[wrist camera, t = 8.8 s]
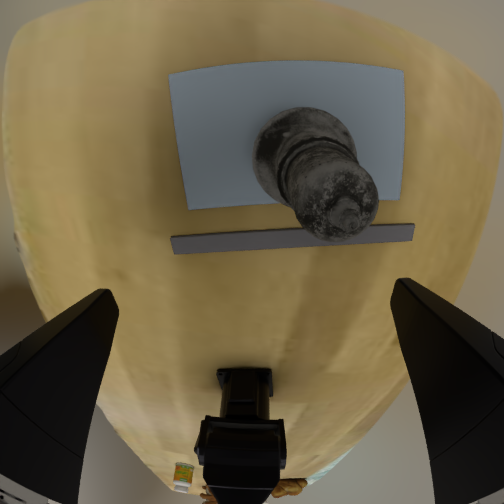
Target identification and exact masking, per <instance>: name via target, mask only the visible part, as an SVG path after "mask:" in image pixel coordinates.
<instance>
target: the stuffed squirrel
mask: <svg viewBox="0 0 504 504" xmlns="http://www.w3.org/2000/svg"><path fill="white" fill-rule="evenodd" d="M202 488H203V489H205V490H206V493H207V495H206V494H203V493H201V494H200V496H201V497H202V498H203V499H206V500H207V501H205V502H203V503H202V504H218V502H217V501H216V499H215V497H214V496H213V494H212V492H211V491H210V489H209V487H208V485H206V486H203V487H202Z"/></svg>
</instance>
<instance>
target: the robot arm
mask: <svg viewBox="0 0 504 504" xmlns="http://www.w3.org/2000/svg"><path fill="white" fill-rule="evenodd" d="M390 306H391V310H392V314H393V318H394V322H395V326H396V331H397V335H398V339H399V343H400V347H401V351H402V354H403V357H404V360H405V363H406V366H407V370H408V373H409V376H410V379H411V383H412V386H413V390H414V393H415V397H416V401H417V405H418V408H419V413H420V416H421V421H422V425H423V430H424V434H425V439H426V444H427V449H428V454H429V460H430V467H431V473H432V480H433V488H434V497H435V504H469V503H472V502H474V501H477V500H478V503H476V504H504V339H503V338H501V337H500V336H498V335H497V334H496V333H494V332H491V330H490V329H488V328H487V327H485V326H484V325H482V324H481V323H480V322H478V321H477V320H475V319H474V318H472V317H471V316H469V315H468V314H466V313H465V312H463V311H462V310H460V309H459V308H457V307H456V306H454V305H452V304H451V303H449V302H448V301H446V300H445V299H443V298H441V297H440V296H438V295H437V294H435V293H433V292H432V291H430V290H429V289H427V288H425V287H424V286H422V285H420V284H419V283H417V282H416V281H414V280H412V279H411V278H399V279H397V280H396V282H395V285H394V289H393V292H392V296H391V300H390ZM118 317H119V308H118V306H117V303H116V301H115V299H114V296H113V294H112V292H111V291H110V290H109V289H97V290H96V291H94V292H93V293H91V294H89V295H88V296H86V297H85V298H83V299H82V300H80V301H79V302H77V303H76V304H74V305H72V306H71V307H69V308H68V309H66V310H65V311H63V312H62V313H60V314H59V315H57V316H56V317H54V318H53V319H52V320H50V321H49V322H47V323H46V324H44V325H43V326H41V327H40V328H38V329H37V330H36V331H34V332H33V333H31V334H30V335H29V336H27V337H26V338H24V339H23V340H22V341H20V342H19V343H17V344H16V345H14V346H13V347H12V348H10V349H9V350H7V351H6V352H5V353H3V354H2V355H0V504H49V503H48V499H51V500H53V501H56V502H59V503H61V504H78V495H79V486H80V479H81V472H82V466H83V458H84V453H85V448H86V443H87V438H88V434H89V429H90V424H91V420H92V416H93V412H94V408H95V404H96V400H97V396H98V393H99V389H100V385H101V382H102V378H103V375H104V371H105V368H106V365H107V362H108V358H109V355H110V351H111V347H112V342H113V338H114V333H115V329H116V325H117V321H118ZM216 374H217V377H218V380H219V383H220V386H221V389H222V399H221V408H220V417H211V416H209V415H206V416H205V420H202V421H201V427H200V432H199V436H198V439H197V441H196V444H195V447H194V452H195V453H196V454H197V455H198V459H199V465H202V466H204V467H203V478H204V480H205V482H206V484H207V485H208V487H209V489H210V491H211V492H212V494H213V496H214V497H215V499H216V501H217V502H218V504H263V503H264V502H265V501H266V499H267V498H268V497H269V495H270V494H271V493H272V491H273V490H274V488H275V487H276V486H277V484H278V483H279V481H280V470H281V469H285V466H286V457H287V449H286V438H285V429H284V420H283V419H278V420H269V397H272V396H273V385H272V370H271V369H219V370H217V373H216Z"/></svg>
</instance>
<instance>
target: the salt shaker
mask: <svg viewBox="0 0 504 504" xmlns="http://www.w3.org/2000/svg"><path fill="white" fill-rule="evenodd" d="M252 164H253V170H254V173H255V176H256V178H257V181H258V183H259V184H260V185H261V187H262V188H263V190H264V191H265V192H266V193H267V194H268V195H269V196H270V197H272V198H273V199H274V200H275V201H277V202H279V203H281V204H283V205H286V206H288V207H291V208H292V209H293V210H294V211H295V214H296V217H297V220H298V221H299V222H300V224H301V225H302V227H303V228H304V229H305V230H306V231H307V232H308V233H310V234H311V235H312V236H314V237H316V238H318V239H320V240H323V241H328V242H343V241H346V240H349V239H352V238H354V237H356V236H358V235H359V234H361V233H362V232H363V231H364V230H366V229H367V228H368V227H369V225H370V224H371V223H372V221H373V220H374V218H375V215H376V213H377V210H378V203H379V196H378V190H377V187H376V185H375V183H374V181H373V179H372V177H371V175H370V174H369V173H368V172H367V171H366V170H365V169H364V168H363V167H361V166H360V165H359V161H358V160H357V151H356V147H355V143H354V140H353V138H352V136H351V134H350V132H349V131H348V129H347V127H346V126H345V125H344V124H343V123H342V122H341V121H340V120H339V119H338V118H336V117H335V116H333V115H331V114H330V113H328V112H326V111H324V110H320V109H316V108H312V107H295V108H292V109H288V110H285V111H282V112H280V113H279V114H277V115H275V116H274V117H272V118H271V119H269V121H268V122H267V123H266V124H265V125H264V126H263V127H262V128H261V129H260V131H259V133H258V135H257V137H256V139H255V141H254V146H253V151H252Z"/></svg>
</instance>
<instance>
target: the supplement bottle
mask: <svg viewBox="0 0 504 504" xmlns="http://www.w3.org/2000/svg"><path fill="white" fill-rule="evenodd" d="M193 468H194V467H193V466H192V465H189V464H185V463H176V468H175V474H174V480H173V483H174V484H175V485H176V486H175V489H174V490H175V491H179V492H184V493H188V487H190V486H191V484H192V476H193Z"/></svg>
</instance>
